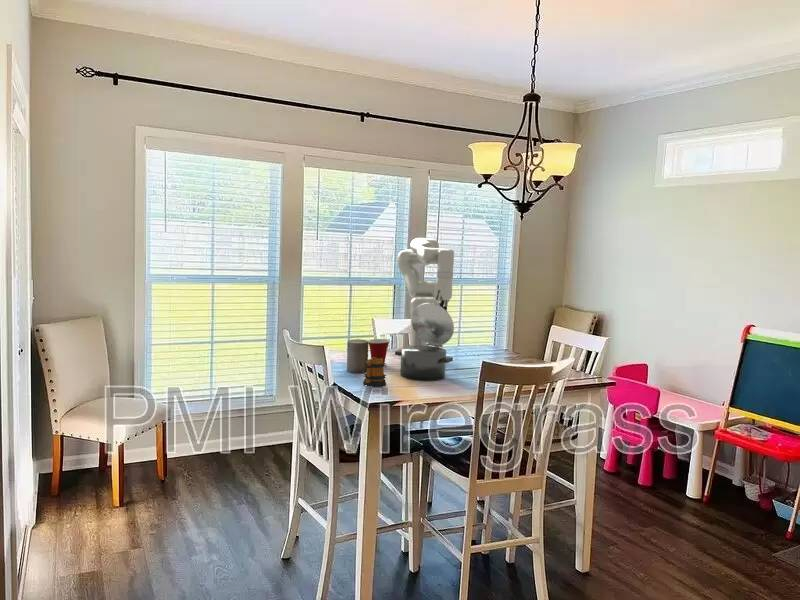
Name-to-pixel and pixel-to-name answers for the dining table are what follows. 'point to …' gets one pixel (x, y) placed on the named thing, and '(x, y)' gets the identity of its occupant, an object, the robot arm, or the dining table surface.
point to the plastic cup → (378, 348)
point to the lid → (432, 324)
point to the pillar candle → (357, 355)
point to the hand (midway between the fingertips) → (442, 314)
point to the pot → (423, 362)
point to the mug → (375, 373)
